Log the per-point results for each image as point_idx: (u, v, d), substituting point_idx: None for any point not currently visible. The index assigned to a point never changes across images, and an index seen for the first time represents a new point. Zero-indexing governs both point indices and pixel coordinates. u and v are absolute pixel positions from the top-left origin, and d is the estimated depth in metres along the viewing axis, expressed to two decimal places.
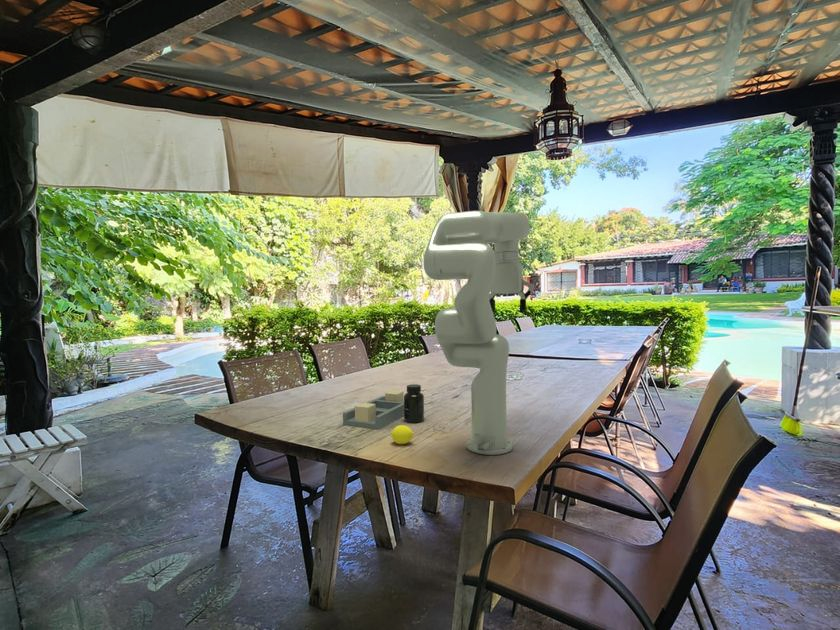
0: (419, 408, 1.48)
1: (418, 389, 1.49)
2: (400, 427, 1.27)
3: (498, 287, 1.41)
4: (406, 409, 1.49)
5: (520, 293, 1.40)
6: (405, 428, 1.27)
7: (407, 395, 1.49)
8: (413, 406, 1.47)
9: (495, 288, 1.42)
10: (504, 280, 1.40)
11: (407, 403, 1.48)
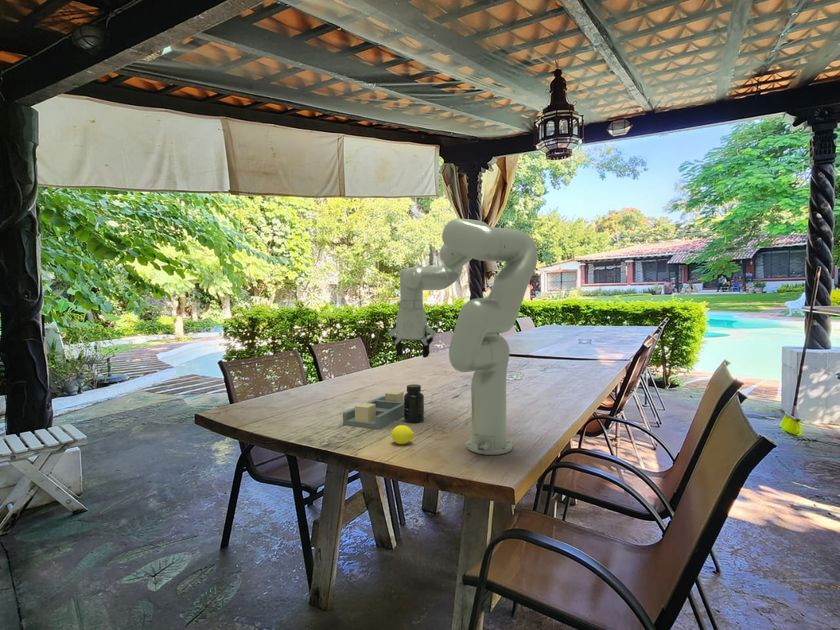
0: (419, 408, 1.48)
1: (418, 389, 1.49)
2: (400, 427, 1.27)
3: (403, 333, 1.48)
4: (406, 409, 1.49)
5: (423, 339, 1.47)
6: (405, 428, 1.27)
7: (407, 395, 1.49)
8: (413, 406, 1.47)
9: (400, 334, 1.49)
10: (407, 326, 1.47)
11: (407, 403, 1.48)
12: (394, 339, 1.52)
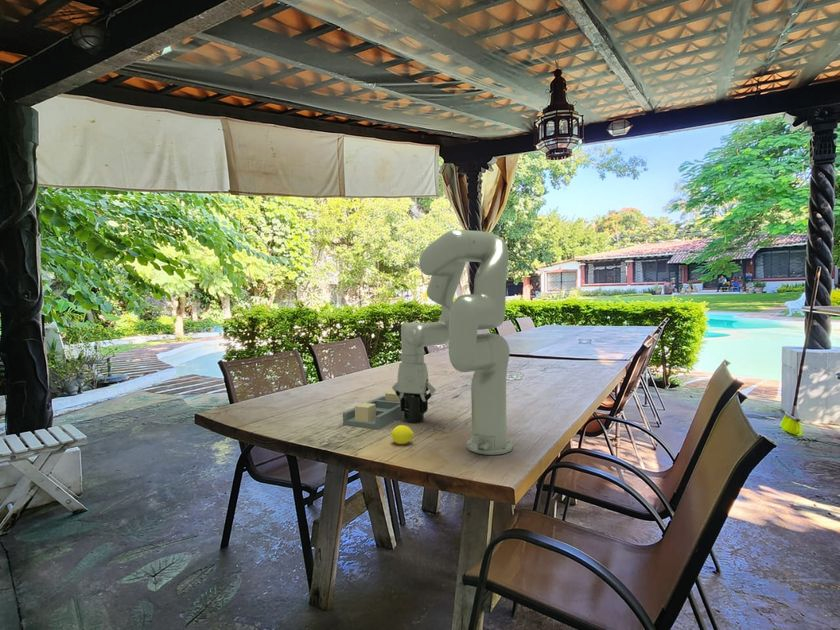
0: (419, 408, 1.48)
1: None
2: (400, 427, 1.27)
3: (404, 387, 1.49)
4: (406, 409, 1.49)
5: (422, 395, 1.48)
6: (405, 428, 1.27)
7: (407, 395, 1.49)
8: (413, 406, 1.47)
9: (401, 388, 1.49)
10: (409, 381, 1.48)
11: (407, 403, 1.48)
12: (398, 394, 1.52)
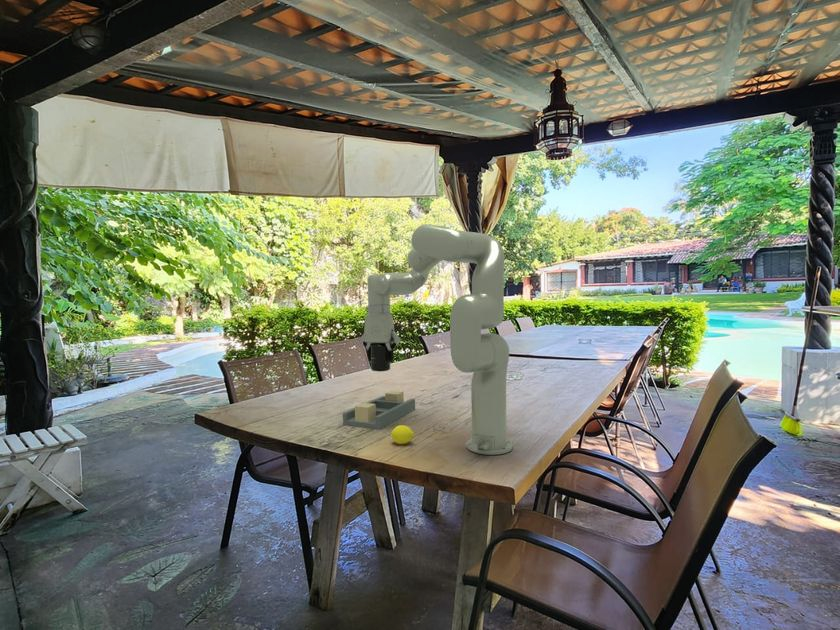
0: (385, 356, 1.53)
1: None
2: (400, 427, 1.27)
3: (370, 337, 1.53)
4: (372, 358, 1.53)
5: (387, 344, 1.52)
6: (405, 428, 1.27)
7: (373, 344, 1.53)
8: (379, 355, 1.52)
9: (368, 337, 1.54)
10: (375, 330, 1.53)
11: (373, 352, 1.53)
12: (365, 345, 1.57)
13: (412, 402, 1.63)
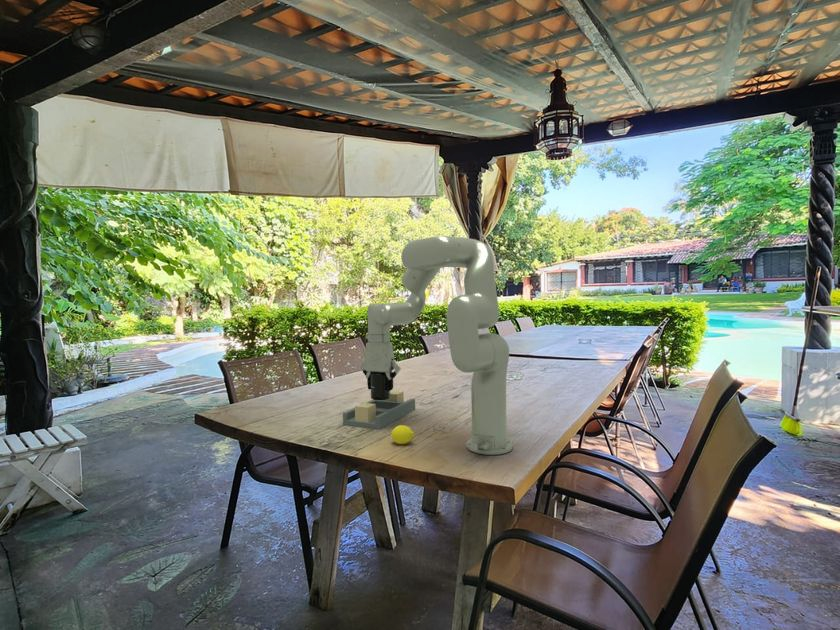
0: (384, 385, 1.53)
1: None
2: (400, 427, 1.27)
3: (370, 366, 1.54)
4: (372, 387, 1.54)
5: (387, 373, 1.53)
6: (405, 428, 1.27)
7: (373, 373, 1.54)
8: (379, 384, 1.53)
9: (368, 366, 1.55)
10: (374, 359, 1.53)
11: (372, 381, 1.54)
12: (365, 373, 1.57)
13: (412, 402, 1.63)
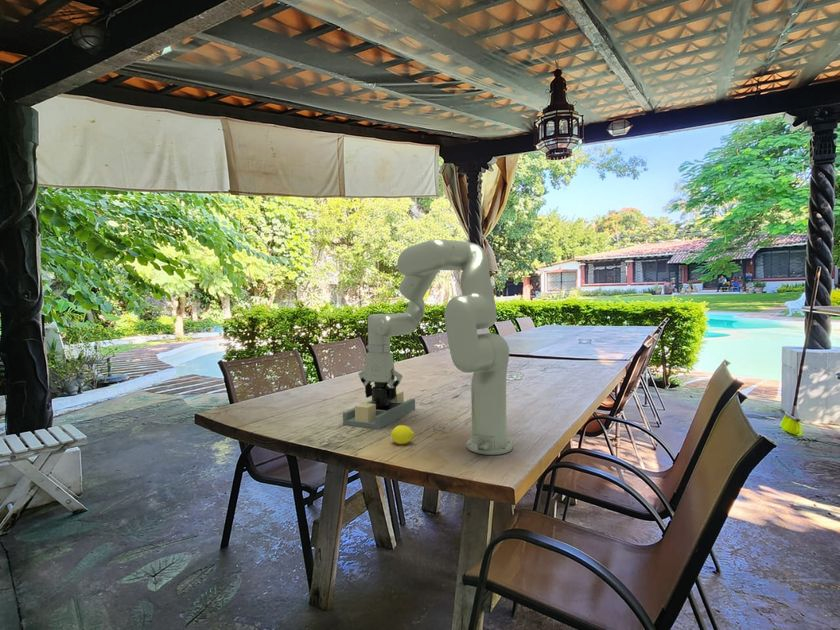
0: (386, 400, 1.53)
1: None
2: (400, 427, 1.27)
3: (370, 376, 1.54)
4: (373, 401, 1.54)
5: (389, 382, 1.53)
6: (405, 428, 1.27)
7: (374, 388, 1.54)
8: (380, 399, 1.53)
9: (368, 377, 1.55)
10: (375, 370, 1.53)
11: (374, 395, 1.54)
12: (363, 381, 1.58)
13: (412, 402, 1.63)
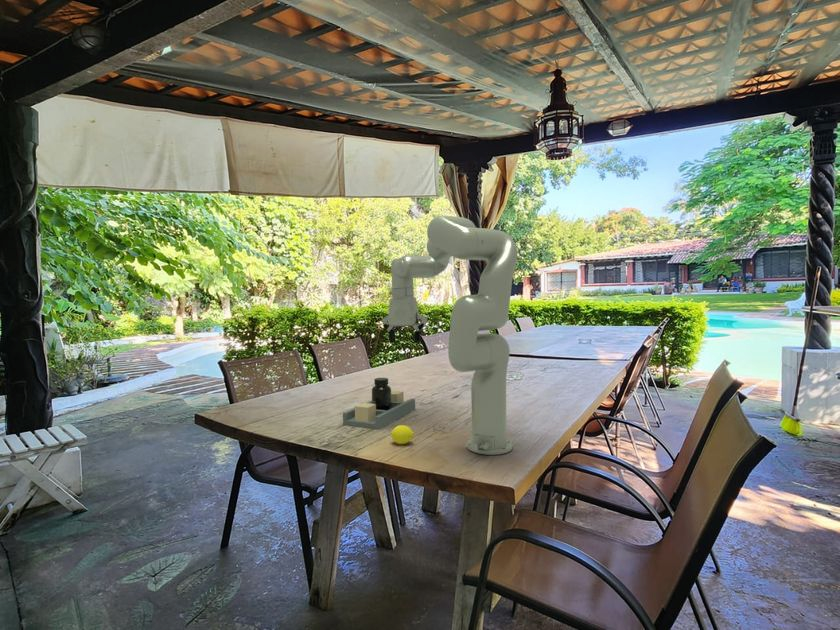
0: (386, 400, 1.53)
1: (385, 382, 1.54)
2: (400, 427, 1.27)
3: (395, 320, 1.55)
4: (373, 401, 1.54)
5: (414, 325, 1.53)
6: (405, 428, 1.27)
7: (374, 388, 1.54)
8: (380, 399, 1.53)
9: (392, 321, 1.55)
10: (399, 313, 1.54)
11: (374, 395, 1.54)
12: (387, 326, 1.58)
13: (412, 402, 1.63)
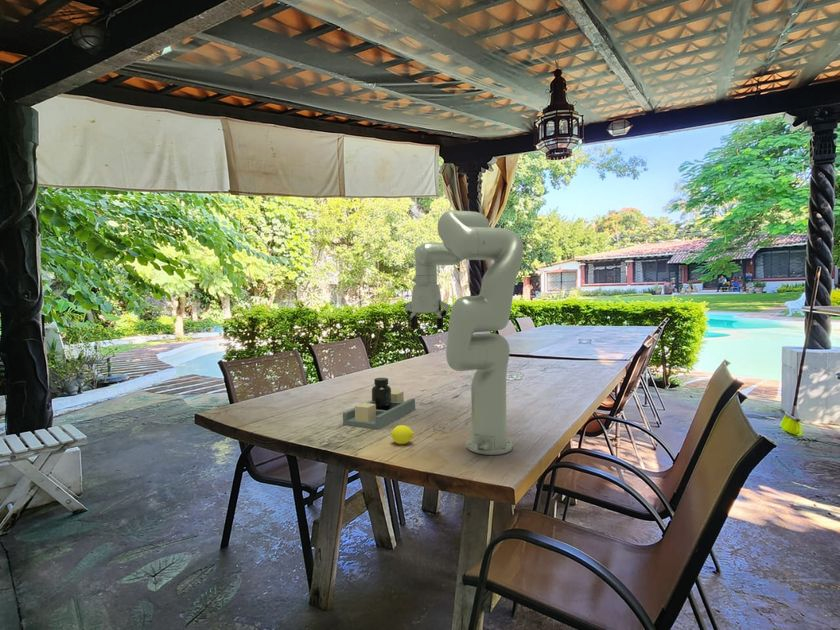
0: (386, 400, 1.53)
1: (385, 382, 1.54)
2: (400, 427, 1.27)
3: (418, 307, 1.56)
4: (373, 401, 1.54)
5: (437, 312, 1.55)
6: (405, 428, 1.27)
7: (374, 388, 1.54)
8: (380, 399, 1.53)
9: (415, 308, 1.57)
10: (422, 300, 1.55)
11: (374, 395, 1.54)
12: (409, 313, 1.60)
13: (412, 402, 1.63)
